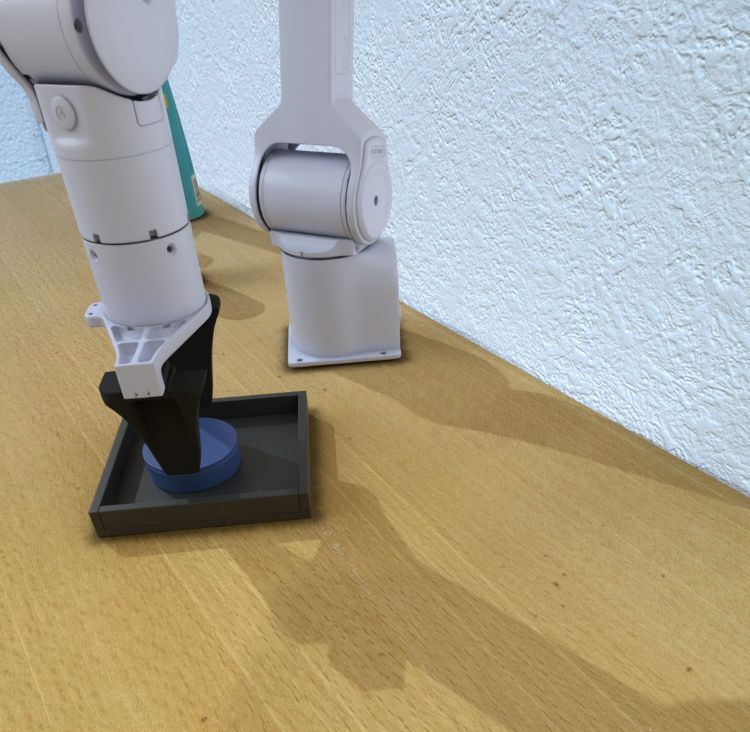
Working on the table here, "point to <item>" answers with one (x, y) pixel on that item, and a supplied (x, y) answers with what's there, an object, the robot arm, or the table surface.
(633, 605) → the table surface
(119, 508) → the tray
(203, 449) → the lid
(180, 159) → the tube
